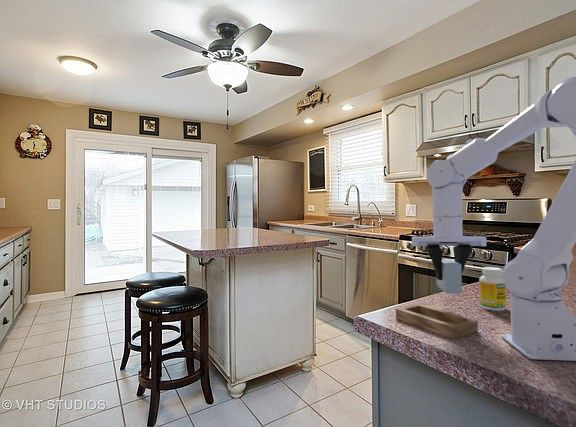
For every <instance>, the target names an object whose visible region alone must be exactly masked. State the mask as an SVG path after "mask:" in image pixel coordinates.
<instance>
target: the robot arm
mask: <svg viewBox="0 0 576 427" xmlns="http://www.w3.org/2000/svg"><path fill="white" fill-rule="evenodd" d="M562 127H567V128H569V129H570V130H571V132H572V134H573V135H574V136H575V138H576V76H571V77H569V78H566V79H564V80H563V81H561V82H560V83H559V84H557V85H556V86H555V87H554V89H550V90H548V91H546V92H544V93H543V94H541V95H540V96H539V98H537V100H536V101H535V102H534V103H533V104H531V106H529V107H527V108H526V109H525V110H524V111H522V112H521V113H519V115H516V117H514V118H512V120H510V121H509V122H507V123H506V124H505V125H503V126H501V127H500V128H499V129H498V130H496V131H495V132H494V133H492V134H491V135H490V136H489V137H487V138H482V137H477V138H474V139H473V138H471V139H469V140H467V141H466V142H465V145H464V146H463V147H461V148H460V149H459V150H458V151H456V152H455V153H450V154H449V155H447V157H446V159H436V160H434V161H433V162H432V163H431V164H430V165H429V166H428V168H427V170H426V174H425V175H426V181H427V183H428V184H429V186H431V187H432V188H431V189H432V191H431V192H432V226H433V228H432V230H433V231H432V232H433V235H432V236H412V237H411V246H412V247H425V250H426V252H427V253H428V256H429V257H430V259H431V263H432V266H433V268H434V272H435V275H436V276H435V277H436V280H437V279H438V280H442V277H443V275H442V259H443V253H444V252H443V249H442V248H441V247H451V246H452V250H453V257H454V258H453V259H454V260H453V261H455V262H457V263H459V264H461V273H462V274H463V272H464V269H465V266H466V264H467V262H468V260H469V258H470V256H471V255H472V253H473V247H475V246H476V247H487V237H485V236H483V235H482V236H470V235H469V236H467V235H464V234H463V232H464V231H463V228H464V227H463V226H464V225H463V195H462V194H463V193H464V192H463V190H464V189H463V188H464V185H465V184H466V182H467V180H468V179H469V177H470V178H471V177H472V176H473V175H475V174H477V173H478V172H480V171H482V170H483V169H486V168H487V167H489V166H490V165H492V164H494V163H495V162H496V161H497V159H498V155H499V153H500V152H502V151H505V150H506V149H507V148H509V147H511V146H513V145H515V144H516V143H519V142H520V141H522V140H525V139H526V138H528V137H529V136H531V135H533V134H536V133H538V132H539V131H540V130H542V129H548V128H562ZM574 246H576V159H575V160H574V162H573V163H572V166H571V168H570V169H569V171H568V174H567V176H566V177H565V179H564V181H563V182H562V183H561V186H560V188H559V190H558V192H557V194H556V195H555V197H554V199H553V201H552V203H551V204H550V207H549V209H548V210H547V212H546V214H545V216H544V218H543V220H542V221H541V224H540V225H539V227H538V229H537V231H536V232H535V234H534V236H533V238H532V239H531V240H530V241H528V243H526V244H525V245H524V246H523V247H522V248H521V249H520V250H519V251H518V253H517V255H516V256H515V258H513V259H512V260H510V261H509V262H507V263H506V264H505V265H504V266H503V268H502V275H501V277H502V279H503V282H504V284H505V286H506V289H508V290H509V291H510V294H509V295H510V333H511V334H509V333H508V334H507V333H506V334H505V333H503V334H501V335H500V337H501V338H502V339H503V340H504V341H506V342H507V343H508V344H509V345H511V346H512V347H514V348H515V349H516V350H517V351H519V352H520V353H521V354H523V356H525V357H526V358H528V359H530V360H542V361H543V360H547V361H548V360H549V361H567V362H569V361H571V362H576V315H575V314H574V313H573V312H572V311H571V310H570V309H569V308H568V307H566V305H565V304H564V299H563V296H564V295H563V292H562V288H564V287H565V285H567V283H568V281H569V277H570V272H569V270H570V269H569V268H570V265H571V264H572V261H573V260H574V256H573V248H574Z"/></svg>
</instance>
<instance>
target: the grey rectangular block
mask: <svg viewBox="0 0 576 427" xmlns="http://www.w3.org/2000/svg"><path fill="white" fill-rule="evenodd" d="M442 275H443V277H442V280H438V279H437V278H436V286H437V287H438V288H440V289H441V290H442V292H444V293H445V294H455V295H457V294H461V295H462V294H463V287H462V286H463V284H462V282H463V281H462V280H463V278H462V277H463V273H461V264H459V263H457V262H455V260H453V259H451V258H442Z"/></svg>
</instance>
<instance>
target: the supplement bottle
mask: <svg viewBox="0 0 576 427" xmlns="http://www.w3.org/2000/svg"><path fill="white" fill-rule="evenodd" d="M502 271H503V268H500V267H496V266H495V267H494V266H485V267H484V266H483V267H482V271H481V272H482V274H483V275H481V276H480V277H479V280H478V281H479V306H480V307H481V308H482V309H484V310H488V311H493V312H495V311H496V312H501V311H505V310H506V309H507V295H506V294H507V293H506V291H507V290H506V289H507V287H506V286H505V284H504V282H503V279H502Z"/></svg>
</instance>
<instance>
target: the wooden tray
mask: <svg viewBox="0 0 576 427" xmlns="http://www.w3.org/2000/svg"><path fill="white" fill-rule="evenodd" d="M395 319H397V320H398V321H402V322H405V323H408V324H411V325H413V326H415V327H419V328H421V329H424V330H427V331H429V332H432V333H435V334H438V335H440V336H444V337H446V338H449V339H452V340H456V339H459V338H462V337H466V336H469V335H472V334H475V333H478V331H479V326H478V324H479V320H477V319H474V318H470V317H467V316H463V315H460V314H456V313H452V312H450V311H447V310H443V309H439V308H436V307H432V306H429V305H425V304H422V303H416V304H415V303H414V304H411V305H405V306H402V307H398V308H395Z"/></svg>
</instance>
